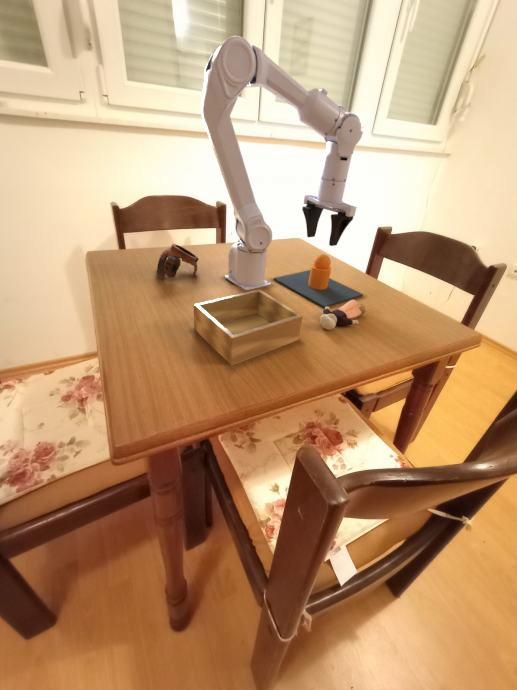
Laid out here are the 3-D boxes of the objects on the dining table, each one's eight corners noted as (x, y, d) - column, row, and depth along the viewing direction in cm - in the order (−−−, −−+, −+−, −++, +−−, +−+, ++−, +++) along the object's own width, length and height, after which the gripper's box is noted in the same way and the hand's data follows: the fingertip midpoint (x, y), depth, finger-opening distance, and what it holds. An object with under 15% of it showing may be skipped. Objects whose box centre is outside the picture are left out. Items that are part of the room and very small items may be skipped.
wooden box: (194, 331, 57) (193, 304, 54) (257, 313, 65) (259, 288, 62) (231, 367, 49) (232, 338, 46) (298, 342, 57) (302, 315, 54)
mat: (273, 279, 81) (273, 278, 81) (311, 271, 89) (311, 269, 88) (323, 308, 70) (324, 306, 69) (362, 295, 77) (363, 294, 77)
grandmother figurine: (372, 302, 65) (342, 319, 57) (369, 319, 67) (340, 338, 58) (339, 295, 70) (307, 309, 61) (337, 311, 71) (306, 327, 63)
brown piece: (158, 268, 82) (172, 240, 80) (190, 286, 84) (204, 259, 82) (145, 273, 71) (160, 241, 69) (182, 294, 73) (198, 263, 71)
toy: (305, 286, 78) (310, 254, 74) (312, 280, 82) (317, 250, 77) (323, 291, 76) (330, 259, 72) (329, 285, 80) (336, 254, 75)
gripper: (370, 184, 67) (354, 247, 75) (322, 175, 77) (312, 231, 84) (349, 184, 64) (335, 250, 71) (301, 174, 73) (293, 234, 80)
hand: (321, 240), depth 78 cm, fingers open, 7 cm apart
